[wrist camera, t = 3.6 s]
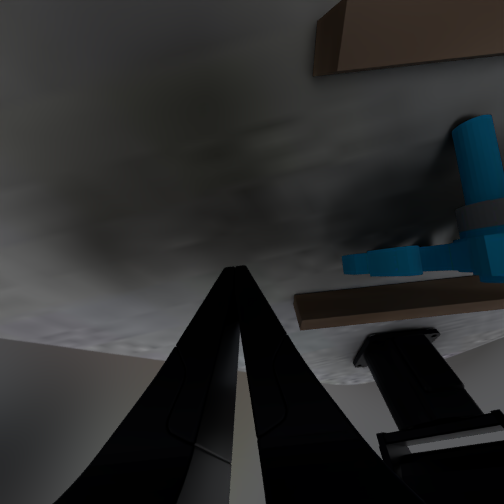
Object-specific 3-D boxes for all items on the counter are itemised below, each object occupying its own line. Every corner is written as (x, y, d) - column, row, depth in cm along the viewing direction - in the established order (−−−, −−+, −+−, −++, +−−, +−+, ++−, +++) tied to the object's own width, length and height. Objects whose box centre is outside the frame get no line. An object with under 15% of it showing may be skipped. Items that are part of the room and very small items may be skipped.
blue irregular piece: (305, 286, 11) (1288, 425, 1) (294, 182, 11) (848, -421, 1) (457, 269, 13) (1191, 260, 3) (442, 184, 14) (1035, -42, 4)
